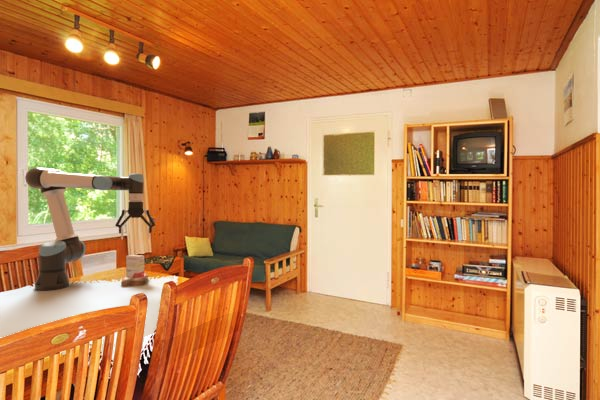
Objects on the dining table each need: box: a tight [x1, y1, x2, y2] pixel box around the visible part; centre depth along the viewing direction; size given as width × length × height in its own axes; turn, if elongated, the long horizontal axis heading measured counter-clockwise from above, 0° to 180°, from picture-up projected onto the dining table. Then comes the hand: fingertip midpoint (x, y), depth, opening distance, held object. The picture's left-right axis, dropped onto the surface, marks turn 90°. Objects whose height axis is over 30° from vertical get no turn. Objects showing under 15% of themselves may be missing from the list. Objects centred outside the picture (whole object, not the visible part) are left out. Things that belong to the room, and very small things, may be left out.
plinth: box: [121, 273, 149, 287], centre depth 204 cm, size 12×14×4 cm
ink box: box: [125, 254, 145, 278], centre depth 204 cm, size 9×5×12 cm, turn 77°
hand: (135, 239), depth 204 cm, fingers open, 13 cm apart
